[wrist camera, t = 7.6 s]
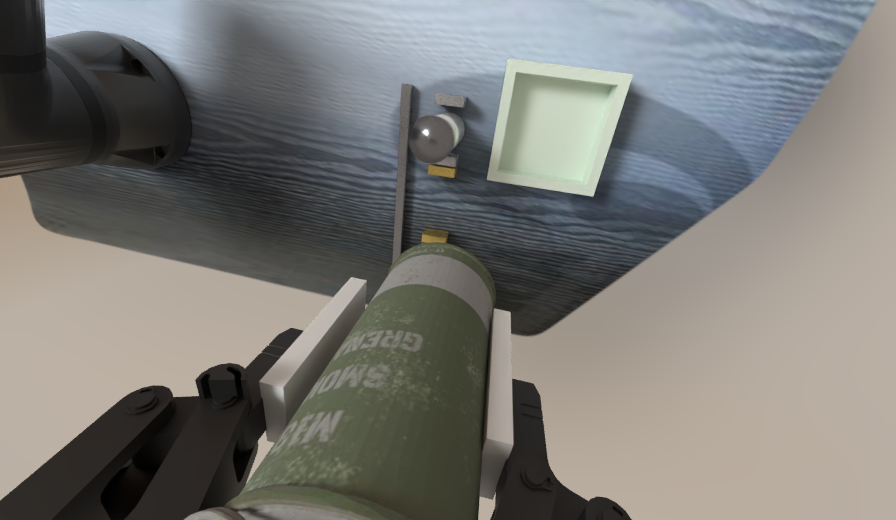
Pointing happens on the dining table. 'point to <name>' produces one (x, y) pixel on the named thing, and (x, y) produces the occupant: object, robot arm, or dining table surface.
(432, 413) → the grenade
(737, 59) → the dining table surface
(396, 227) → the fuse rail
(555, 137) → the tray
